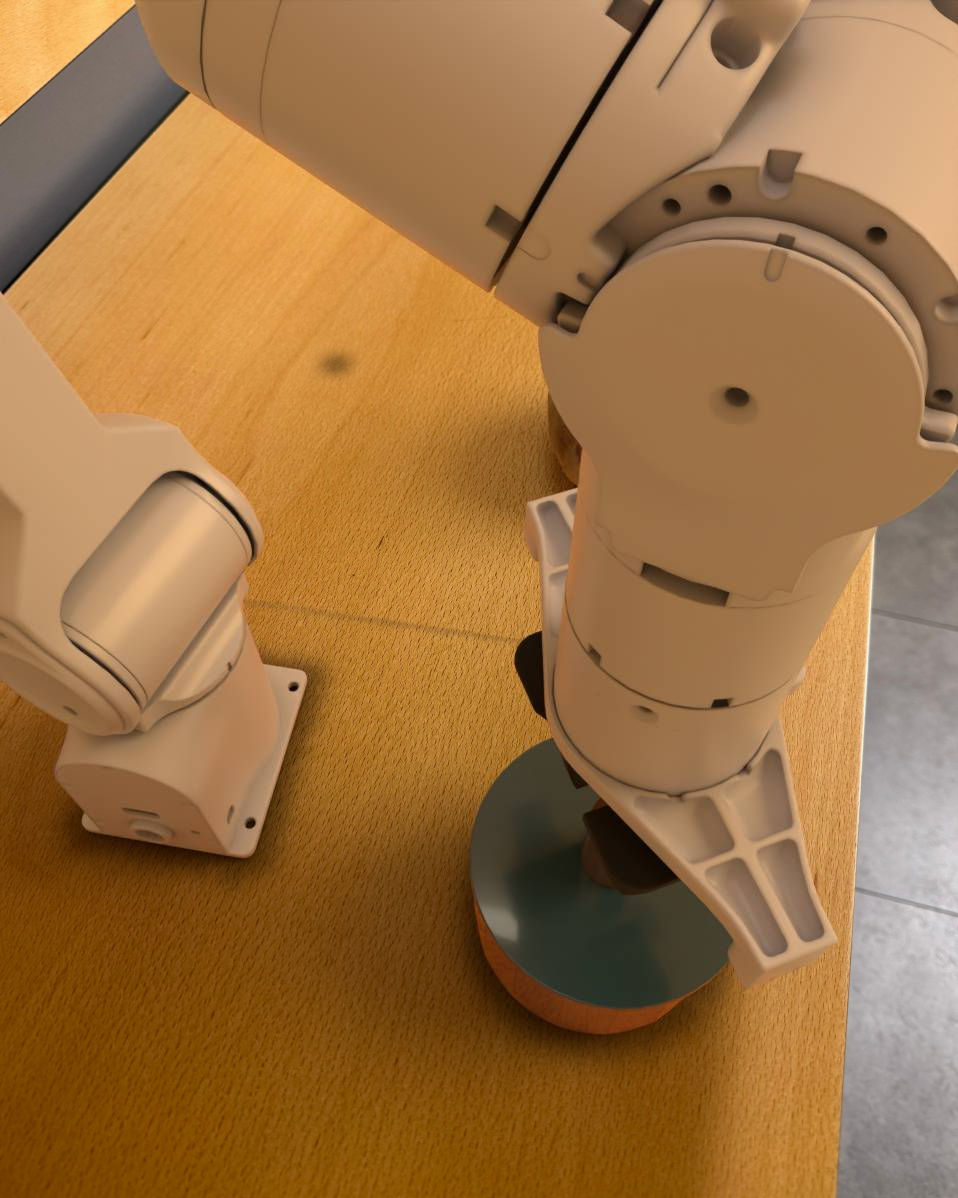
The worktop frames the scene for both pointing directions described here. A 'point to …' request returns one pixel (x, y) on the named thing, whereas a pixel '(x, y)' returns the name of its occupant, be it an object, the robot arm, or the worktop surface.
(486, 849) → the lid
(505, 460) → the worktop surface
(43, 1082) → the worktop surface
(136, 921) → the worktop surface
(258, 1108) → the worktop surface
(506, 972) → the pot
